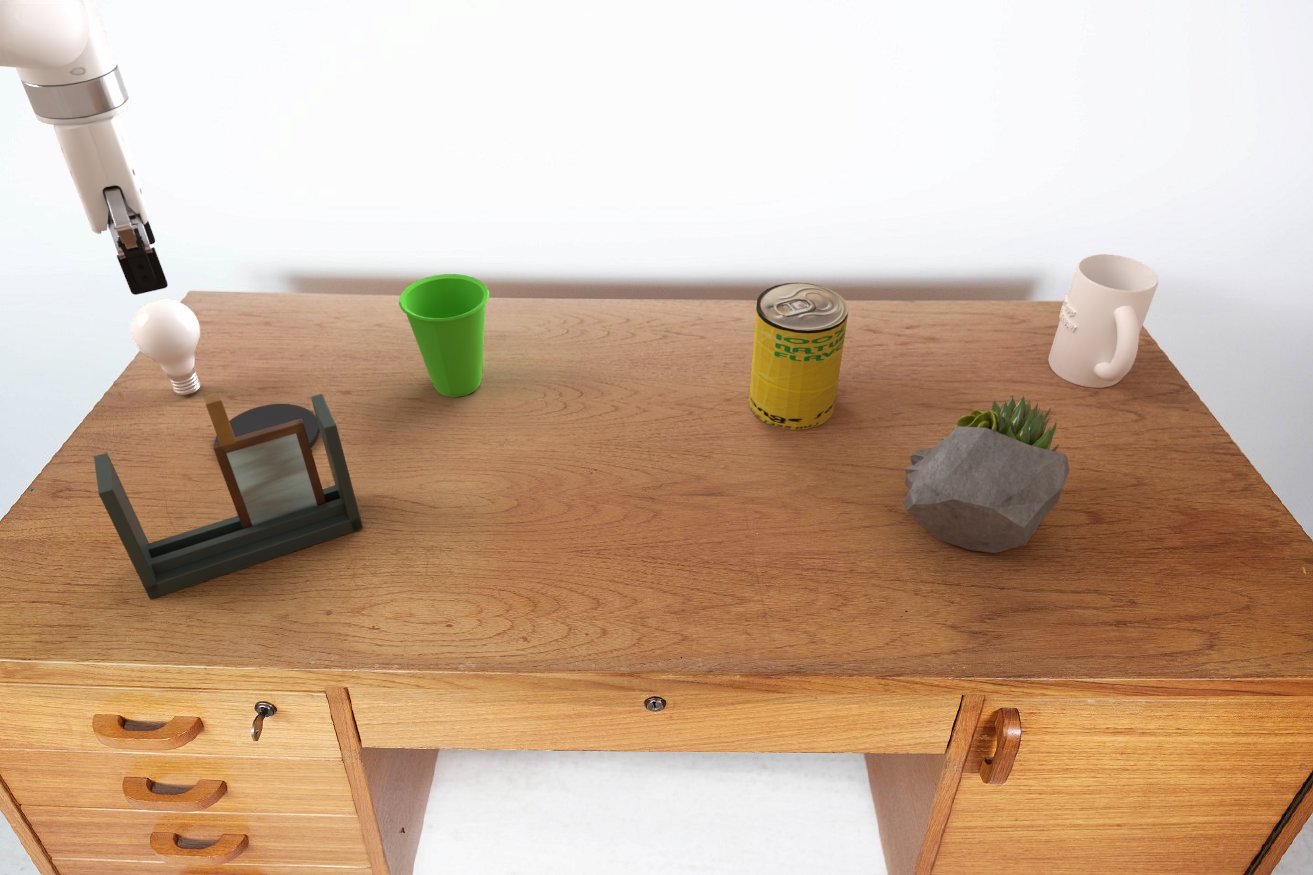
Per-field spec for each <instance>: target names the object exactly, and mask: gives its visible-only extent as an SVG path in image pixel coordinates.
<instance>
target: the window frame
mask: <svg viewBox="0 0 1313 875" xmlns="http://www.w3.org/2000/svg"><path fill="white" fill-rule="evenodd" d="M310 399H311V403H312V406H313V407H312V408H313V410H314V413H315V414H314V415H315V416H316V418H317V422H318V425H319V429H320V432H319V433H320V436H321V439H322V443H323V447H324V450H325V453H326V458H327V461H328V465H329V468H330V471H331V472H330V473H331V476H332V479H333V483H334V485H332V486H328V487H325V488H322V489H323V492H324V496H325V499H326V503H325V504H321V505H318V506H315V507H312V508H309V509H306V510H303V511H299V512H296V513H293V514H290V515H287V516H284V517H280V518H277V519H274V520H271V521H268V522H265V523H262V524H258V525H255V526H252V527H249V528H246V529H243V528H242V525H241V522H240V520H239V517H238V515H235V516H232V517H229V518H226V519H221V520H219V521H216V522H212V523H210V524H206V525H204V526H200V527H197V528H194V529H191V530H187V531H184V532H181V533H178V534H174V535H171V536H168V537H165V538H162V539H158V540H155V541H152V542H149V540H148V538H147V536H146V533H145V531H144V529H143V527H142V525H141V522H140V520H139V518H138V516H137V514H136V512H135V510H134V508H133V506H132V503H131V501H130V498H129V496H128V495H127V492H126V490H125V488H124V486H123V484H122V481H121V479H120V477H119V475H118V473H117V470H116V469H115V466H114V465H113V462H112V460H111V458H110V456H109V453H108V452H105V453H101V454H97V455H94V456H93V461H94V469H95V477H96V478H95V479H96V484H97V492H98V496H99V497H100V501H101V502H102V505H103V506H104V508H105V510H106V512H107V514H108V516H109V519H110V520H111V522H112V524H113V527H114V529H115V531H116V533H117V535H118V537H119V539H120V541H121V543H122V545H123V547H124V549H125V552H126V553H127V555H128V557H129V560H130V561H131V563H132V565H133V567H134V569H135V570H134V571H135V573H137V576H138V578H139V580H140V582H141V584H142V587H143V588H144V590H145V592H146V594H147V597H148V599H149V600H154V599H156V598H160V597H162V596H164V595H168V594H171V593H174V592H176V591H180V590H182V589H186V588H188V587H192V586H195V585H197V584H200V583H203V582H207V581H210V580H213V579H215V578H218V577H222V576H225V575H228V574H231V573H233V572H236V571H239V570H240V571H241V570H243V569H245V568H249V567H251V566H255V565H258V564H261V563H263V562H267V561H270V560H273V559H276V558H279V557H282V556H285V555H288V554H291V553H294V552H296V551H300V550H303V549H306V548H310V547H312V546H315V545H318V544H321V543H324V542H327V541H330V540H334V539H336V538H339V537H342V536H345V535H348V534H351V533H354V532H358V531H360V530H363V529H364V526H363V521H362V518H361V515H360V510H359V506H358V502H357V498H356V496H355V491H354V486H353V484H352V479H351V476H350V472H349V468H348V465H347V459H346V456H345V453H344V452H345V451H344V449H343V445H342V441H341V437H340V434H339V429H338V426H337V423H336V422H335V419H334V417H333V414H332V412H331V409H330V408H329V405H328V403H327V401H326V399H325V397H324V394H323V393H319V394H317V395H312V396H310Z"/></svg>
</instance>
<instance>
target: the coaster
mask: <svg viewBox="0 0 1313 875" xmlns="http://www.w3.org/2000/svg"><path fill="white" fill-rule="evenodd" d="M298 419H302V420H303V423H304V426H305V430H306V433H307V437H308V440H309V444H310V447H311V448H312V447H313V446H314V445H315V444H316V442H317V440H318V438H319V436H320V433H321V432H320V429H319V425H318V422H317V418H316V414H314V412H312V411H311V410H310V409H307V408H306V407H304V406H301V405H297V404H292V403H271V404H264V405H260V406H257V407H254V408H251V409H250V408H249V409H248V410H245V411H243V412H241V413H239V414H237V415H235V416H234V417H232V418H231V419H229V422H230V425H231V428H232V430H233V433H234V436H235V437H238V436H241V435H245V434H248V433H252V432H256V431H259V430H263V429H266V428H270V427H273V426H277V425H280V424H284V423H287V422H291V421H294V420H298ZM216 442H219V440H218V437H217V435H216V436H215V439H214V443H216Z"/></svg>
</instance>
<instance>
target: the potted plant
mask: <svg viewBox="0 0 1313 875" xmlns="http://www.w3.org/2000/svg"><path fill="white" fill-rule="evenodd" d="M992 402H993V403H992V407H991V409H988V410H985V411H983V409H981V408H978V409H973V410H971V411H970V413H968V414H965V415H963V416H961V417H960V418H959V419H958V420H957V422H956V425H955V427H954V428H953V430H952V432H950V434H948V435H947V436H946V437H945V438H941V440H940V441H939V442H937V443H936V444H935V445H934V446H933V447H932V448H926V449H918V450H915V451H913V453H912V454H911V455H910V457H909V458H910V463H911V464H912V465H911V466H909V467H907V468H906V469H905V479H904V480H905V481H904V486H905V487H906V488H907V489H908V491H907V493H906V495H905V497H904V500H903V503H902V504H903V506H904V508H905V511H906V512H907V513H908V514H909V515H910V516H911V517H912V518H913V519H914V520H915V521H916V523H917V524H918V525H919V526H920V527H921V528H922V529H924V530H925V531H926V532H927V533H929V534H931V535H932V536H933V537H935V539H937V540H938V541H941V542H944V543H947V544H949V545H953V546H956V547H959V548H962V549H966V550H969V551H973V552H974V551H975V552H983V553H991V554H998V553H1002V552H1005V551H1008V550H1013V549H1015V548H1018V547H1022V546H1026V545H1027V544H1028V542H1029V541H1030V539H1031V537H1033V535H1034V533H1035V532H1036V530H1037V529H1038V527H1039V526H1040V524H1041V523H1042V521H1043V520H1044V518H1045V517H1046V516H1047V514H1049V512H1050V511H1051V510H1052V509H1053V508H1054V507H1056V505H1057V504H1058V502H1059V499H1060V497H1061V495H1062V492H1063V489H1064V486H1065V484H1066V481H1067V479H1068V476H1069V473H1070V466H1069V461H1068V456H1067V454H1066V453H1062V452H1058V451H1057V450H1058V448H1059V446H1060V443H1059V444H1057V445H1056V446H1055V447H1053V448H1052V449H1051V446H1052V441H1053V437H1054V435H1055V432H1056V429H1057V420H1056V421H1055V422H1054V425H1053V426H1052V427H1051V426H1050V427H1048V428H1047V425H1048V424H1049V421H1050V419H1051V418H1050V417H1049V414H1050V412H1051V411H1052V410H1051V409H1052V407H1049V409H1048V410H1047V412H1046V413H1045V414H1044V410H1042V411H1041V412H1040V410H1041V407H1039V402H1037V403H1036V404H1035V406H1034V407H1033V408H1032V406H1031V399H1028V401H1027V402H1026V400H1025V395H1022V396H1021V399H1020V400H1018V402H1017V403H1016V401H1015V398H1014V395H1013V394H1011V395H1010V396H1009V398H1008V401H1006V400H1004V403H1003V404H1002V405H1001V406H999V404H998V403H997V401H996V400H995V399H993V401H992ZM1043 414H1044V415H1043ZM1047 418H1048V419H1047ZM1046 428H1047V430H1046Z"/></svg>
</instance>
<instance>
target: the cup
mask: <svg viewBox="0 0 1313 875" xmlns="http://www.w3.org/2000/svg"><path fill="white" fill-rule="evenodd" d="M489 299H490V290H489V288H488V287H487V286H486V284H485V283H483V282H482V281H481V280H479V279H477V278H476V277H473V276H469V275H465V274H457V273H444V274H436V275H431V276H427V277H424V278H421V279H419V280H417V281H414V282H412V283H411V284H409V285H408V286H407V287H406V288H404V290H403V291H402V293H401V294H400V296H399V299H398V300H399V301H398V305H399V307H400V310H401V311H402V312H403V313H404V314H405V315H406V316H407V320H408V322H409V324H410V328H411V330H412V333H413V336H414V338H415V341H416V344H417V346H418V349H419V351H420V354H421V356H422V359H423V362H424V364H425V367H426V370H427V372H428V375H429V378H430V380H431V383H432V385H433V387H434V388H435V390H436V391H437V393H439V394H440V395H443V396H446V397H451V398H458V397H463V396H464V397H465V396H467V395H470V394H472V393H474V392H475V391H476V390H477V389H478V388H480V385H481V383H482V381H483V366H484V347H485V346H484V344H485V343H484V342H485V327H486V307H487V303H488V301H489Z"/></svg>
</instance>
